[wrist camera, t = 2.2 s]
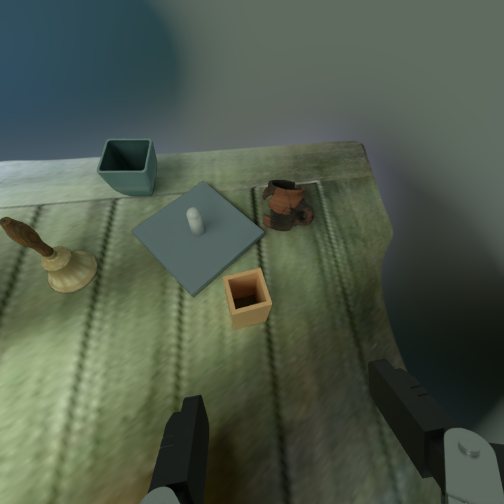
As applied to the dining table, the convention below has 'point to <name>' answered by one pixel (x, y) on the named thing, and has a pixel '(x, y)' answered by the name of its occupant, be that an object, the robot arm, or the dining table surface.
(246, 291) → the collar
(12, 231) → the hand bell
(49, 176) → the dining table surface
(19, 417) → the dining table surface
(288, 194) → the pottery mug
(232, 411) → the dining table surface
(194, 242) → the post board
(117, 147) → the flower pot
